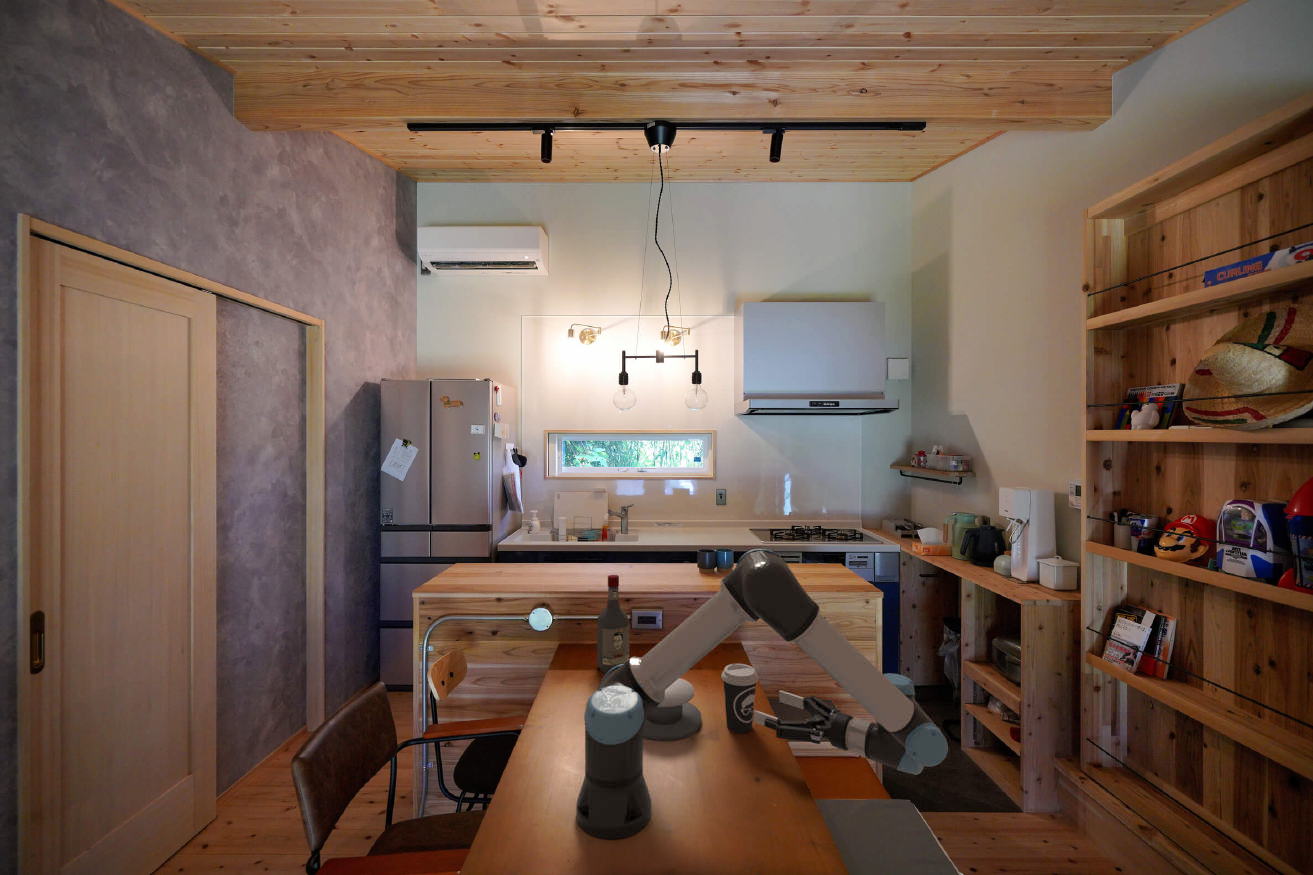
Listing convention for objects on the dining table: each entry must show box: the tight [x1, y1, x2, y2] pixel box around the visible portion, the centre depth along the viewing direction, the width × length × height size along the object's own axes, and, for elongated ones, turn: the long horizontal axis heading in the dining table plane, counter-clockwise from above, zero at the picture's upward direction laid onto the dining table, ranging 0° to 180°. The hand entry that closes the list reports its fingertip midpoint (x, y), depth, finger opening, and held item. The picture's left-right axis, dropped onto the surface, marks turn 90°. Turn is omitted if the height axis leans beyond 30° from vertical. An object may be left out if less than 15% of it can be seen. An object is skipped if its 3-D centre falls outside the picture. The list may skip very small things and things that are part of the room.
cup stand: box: [643, 677, 702, 742], centre depth 151 cm, size 20×20×8 cm
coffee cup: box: [720, 663, 759, 734], centre depth 148 cm, size 10×10×15 cm
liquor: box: [596, 574, 630, 674], centre depth 185 cm, size 9×9×30 cm
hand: (767, 705), depth 144 cm, fingers open, 13 cm apart
